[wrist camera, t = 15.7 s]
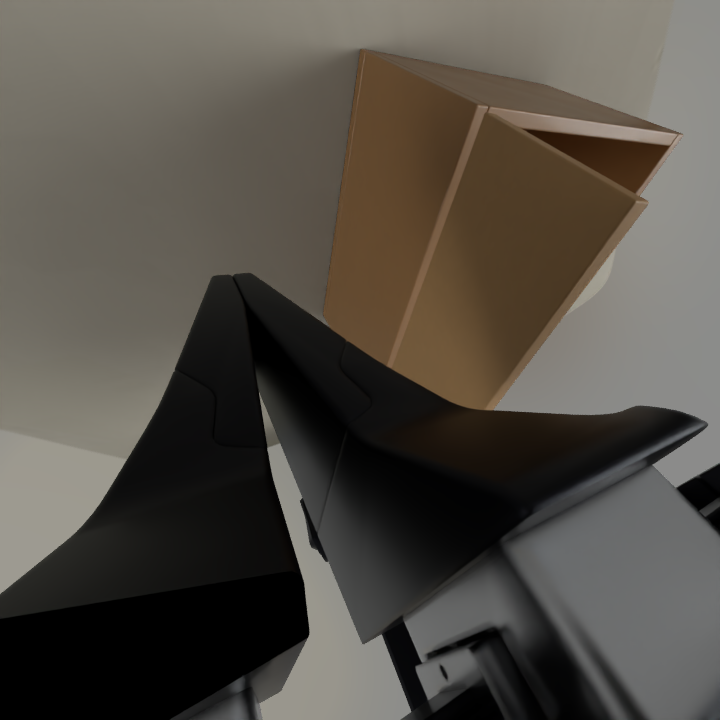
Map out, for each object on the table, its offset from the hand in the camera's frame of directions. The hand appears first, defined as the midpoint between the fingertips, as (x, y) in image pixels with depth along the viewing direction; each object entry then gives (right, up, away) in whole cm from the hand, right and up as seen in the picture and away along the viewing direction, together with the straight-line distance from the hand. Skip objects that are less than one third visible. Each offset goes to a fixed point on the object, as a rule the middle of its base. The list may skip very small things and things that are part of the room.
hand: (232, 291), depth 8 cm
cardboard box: (+7, +8, +15) cm, 18 cm away
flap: (+6, -2, +5) cm, 9 cm away
